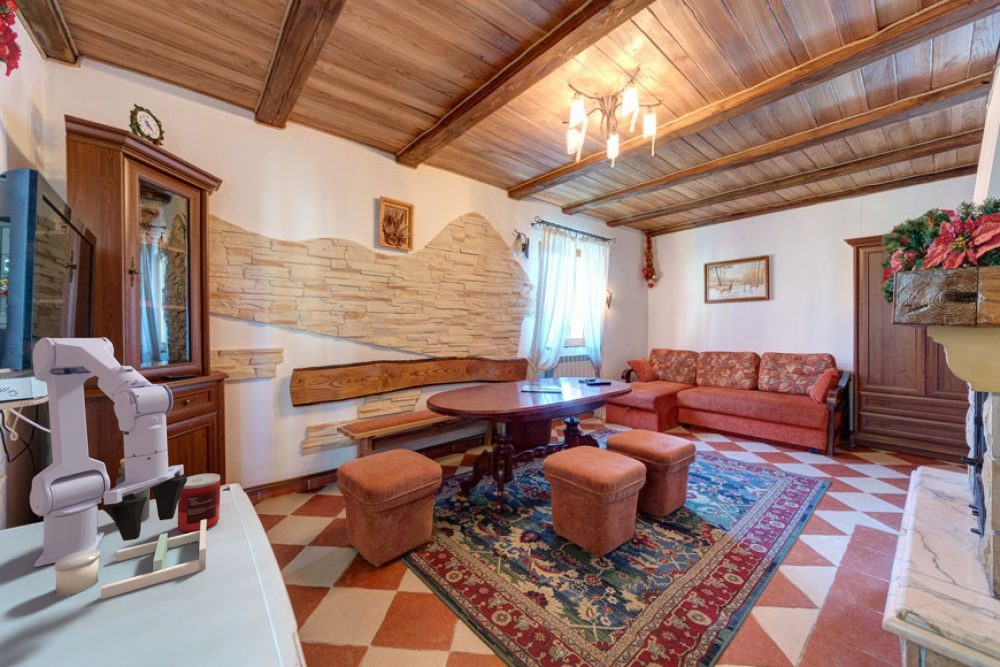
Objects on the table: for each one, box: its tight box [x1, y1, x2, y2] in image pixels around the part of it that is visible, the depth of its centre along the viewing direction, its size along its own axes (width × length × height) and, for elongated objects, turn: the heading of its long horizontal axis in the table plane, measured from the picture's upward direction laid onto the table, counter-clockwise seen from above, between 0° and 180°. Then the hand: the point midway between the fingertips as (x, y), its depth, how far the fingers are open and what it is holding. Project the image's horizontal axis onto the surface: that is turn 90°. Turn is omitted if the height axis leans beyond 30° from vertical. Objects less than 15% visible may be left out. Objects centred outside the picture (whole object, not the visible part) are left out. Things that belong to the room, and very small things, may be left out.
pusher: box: [152, 532, 169, 572], centre depth 74 cm, size 11×1×3 cm, turn 38°
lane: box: [100, 519, 207, 600], centre depth 74 cm, size 14×14×4 cm
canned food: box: [177, 473, 221, 534], centre depth 88 cm, size 8×8×11 cm
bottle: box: [115, 457, 151, 523], centre depth 90 cm, size 6×6×15 cm
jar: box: [54, 548, 101, 597], centre depth 67 cm, size 5×5×5 cm
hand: (149, 528), depth 68 cm, fingers open, 7 cm apart
